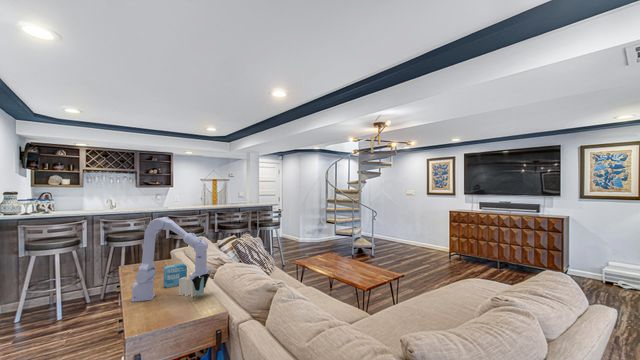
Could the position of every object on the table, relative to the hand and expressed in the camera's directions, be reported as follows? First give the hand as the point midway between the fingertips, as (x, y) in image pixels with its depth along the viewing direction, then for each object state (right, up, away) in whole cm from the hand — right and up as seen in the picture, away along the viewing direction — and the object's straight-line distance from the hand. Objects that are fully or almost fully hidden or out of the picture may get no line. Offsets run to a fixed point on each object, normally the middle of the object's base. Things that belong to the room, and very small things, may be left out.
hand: (200, 288), depth 154 cm
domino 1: (-11, -4, +4) cm, 13 cm away
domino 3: (-4, -4, +1) cm, 6 cm away
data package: (-23, -5, +19) cm, 30 cm away
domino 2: (-8, -4, +2) cm, 9 cm away
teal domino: (0, -3, 0) cm, 3 cm away
